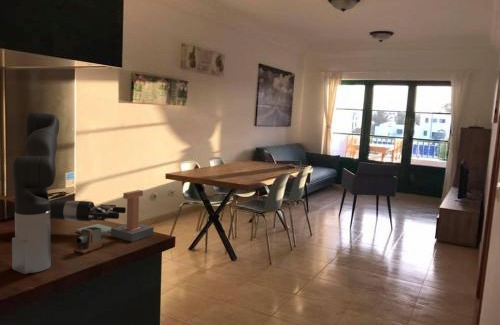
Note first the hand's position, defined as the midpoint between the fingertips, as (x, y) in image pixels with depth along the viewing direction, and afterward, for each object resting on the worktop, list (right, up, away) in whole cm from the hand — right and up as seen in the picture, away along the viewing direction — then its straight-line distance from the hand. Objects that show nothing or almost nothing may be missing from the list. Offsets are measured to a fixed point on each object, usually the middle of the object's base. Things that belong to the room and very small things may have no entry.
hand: (122, 213), depth 156 cm
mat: (-11, -7, +3) cm, 14 cm away
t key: (+4, -9, +1) cm, 9 cm away
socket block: (+4, -9, +1) cm, 9 cm away
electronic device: (-6, -11, -17) cm, 21 cm away
